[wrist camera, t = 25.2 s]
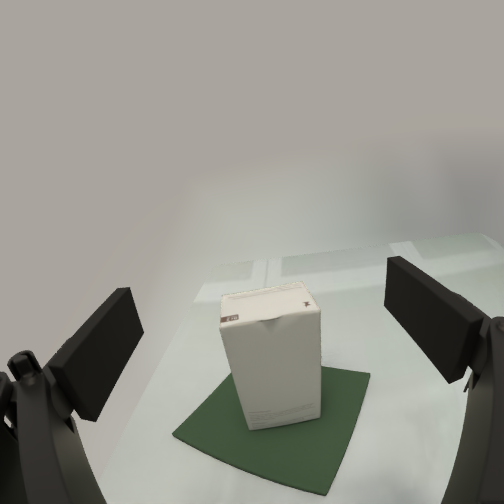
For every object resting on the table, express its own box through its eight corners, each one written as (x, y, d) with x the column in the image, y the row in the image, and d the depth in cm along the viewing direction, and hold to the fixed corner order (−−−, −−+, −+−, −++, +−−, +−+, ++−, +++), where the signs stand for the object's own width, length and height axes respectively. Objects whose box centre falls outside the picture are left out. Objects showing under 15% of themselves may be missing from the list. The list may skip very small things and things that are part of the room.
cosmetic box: (309, 386, 31) (307, 277, 26) (321, 421, 25) (325, 306, 21) (242, 396, 30) (220, 290, 26) (244, 434, 25) (217, 323, 20)
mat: (173, 436, 25) (171, 433, 25) (250, 354, 40) (250, 351, 40) (325, 496, 16) (326, 494, 16) (369, 376, 31) (370, 372, 31)
